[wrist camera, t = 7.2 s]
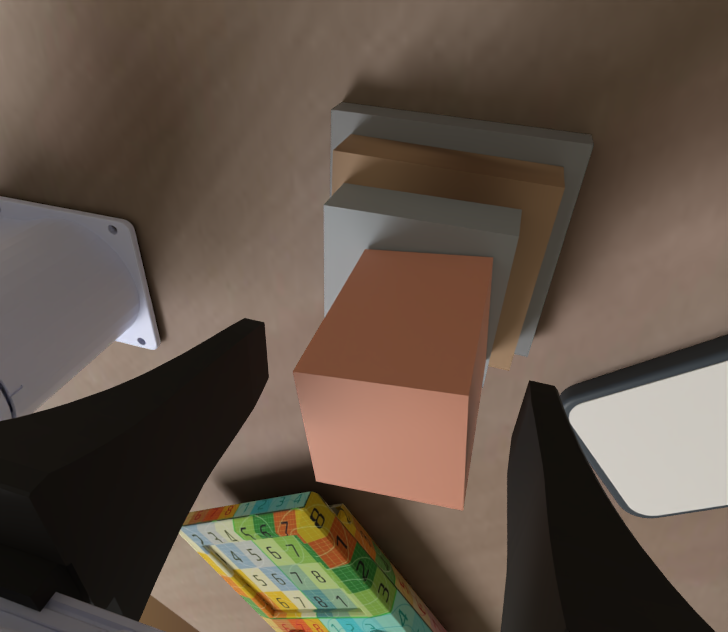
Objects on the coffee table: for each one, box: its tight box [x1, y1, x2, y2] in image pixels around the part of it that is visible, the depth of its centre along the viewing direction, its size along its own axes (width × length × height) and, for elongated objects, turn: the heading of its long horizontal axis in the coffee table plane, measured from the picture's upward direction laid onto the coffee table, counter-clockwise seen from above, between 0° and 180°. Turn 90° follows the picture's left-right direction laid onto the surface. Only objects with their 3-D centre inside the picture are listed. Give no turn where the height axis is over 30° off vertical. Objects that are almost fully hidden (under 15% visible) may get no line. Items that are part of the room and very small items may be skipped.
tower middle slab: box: [332, 134, 565, 371], centre depth 19 cm, size 8×8×2 cm
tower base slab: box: [330, 102, 594, 357], centre depth 21 cm, size 9×9×2 cm
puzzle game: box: [179, 491, 447, 632], centre depth 37 cm, size 12×5×20 cm
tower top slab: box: [324, 183, 522, 388], centre depth 18 cm, size 6×6×2 cm
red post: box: [293, 249, 493, 510], centre depth 15 cm, size 4×4×6 cm
